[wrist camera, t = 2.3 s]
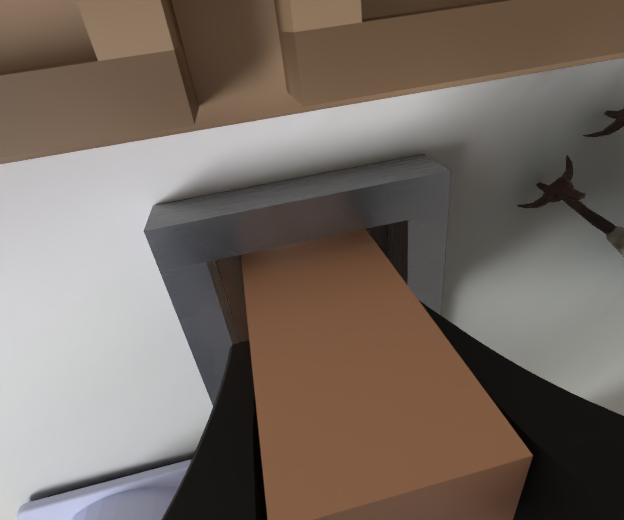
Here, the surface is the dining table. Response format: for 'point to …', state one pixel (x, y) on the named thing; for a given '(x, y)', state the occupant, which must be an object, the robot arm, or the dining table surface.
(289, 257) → the peg
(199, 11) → the rack
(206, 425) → the robot arm
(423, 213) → the socket
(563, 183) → the decorative bird
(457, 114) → the dining table surface
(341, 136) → the dining table surface
